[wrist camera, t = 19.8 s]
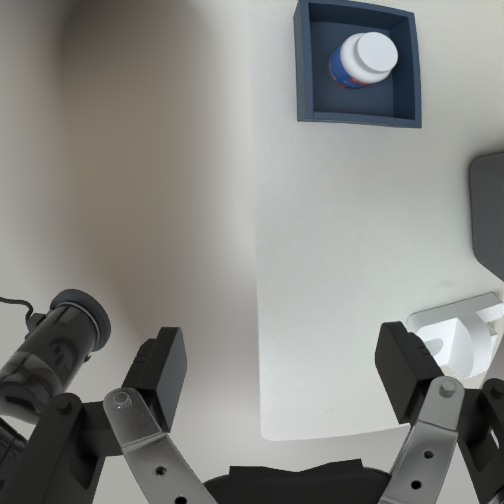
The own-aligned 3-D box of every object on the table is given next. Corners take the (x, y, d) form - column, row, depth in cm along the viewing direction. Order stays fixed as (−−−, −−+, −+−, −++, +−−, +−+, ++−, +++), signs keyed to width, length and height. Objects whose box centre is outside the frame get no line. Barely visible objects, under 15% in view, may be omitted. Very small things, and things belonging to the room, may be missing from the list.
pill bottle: (333, 94, 33) (358, 82, 24) (320, 52, 31) (340, 28, 22) (376, 86, 32) (411, 75, 23) (362, 45, 30) (393, 23, 21)
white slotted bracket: (407, 315, 44) (436, 358, 34) (494, 291, 43) (530, 323, 33) (402, 361, 47) (425, 406, 37) (484, 336, 46) (513, 370, 36)
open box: (297, 121, 35) (305, 119, 29) (293, 16, 30) (299, -5, 24) (396, 127, 35) (421, 128, 28) (391, 27, 30) (414, 12, 23)
